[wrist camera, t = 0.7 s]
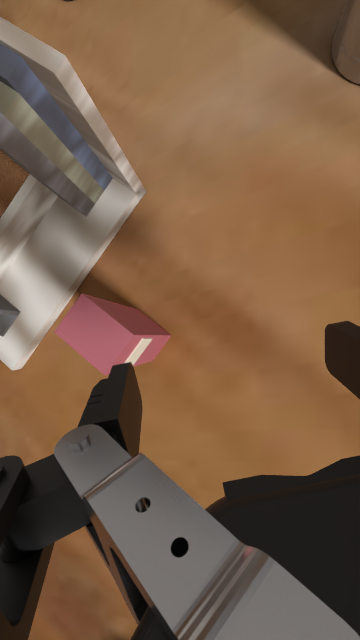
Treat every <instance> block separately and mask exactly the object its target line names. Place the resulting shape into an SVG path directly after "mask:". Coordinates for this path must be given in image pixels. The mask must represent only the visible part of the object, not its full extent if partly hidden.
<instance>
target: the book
mask: <svg viewBox="0 0 360 640" xmlns="http://www.w3.org/2000/svg"><path fill="white" fill-rule="evenodd" d="M55 333H56V334H57V335H58V336H59V337H60V338H62V339H63V340H64V341H65V342H66V343H67V344H69V345H70V346H71V347H72V348H73V349H75V350H76V351H77V352H78V353H79V354H80V355H82V356H83V357H84V358H85V359H86V360H87V361H89V362H90V363H91V364H92V365H93V366H94V367H96V368H97V369H98V370H99V371H100V372H101V373H103V374H104V375H108V374H110V371H111V368H112V366H113V365H117V364H123V363H128V362H131V363H132V365H133V367H134V366H137V365H140V364H143V363H147V362H150V361H153V360H154V359H155V357H156V356H157V354H158V353H159V352H160V350H161V349H162V348H163V346H164V345H165V344H166V342H167V341H168V340H169V338H170V337H171V336H172V335H170V334H169V333H168V332H166V331H165V330H164V329H163V328H161V327H160V326H159V325H157V324H156V323H155V322H153V321H152V320H151V319H150V318H148V317H147V316H146V315H144V314H143V313H142V312H141V311H139V310H138V309H136V308H132V307H129V306H125V305H122V304H118V303H115V302H111V301H108V300H104V299H101V298H97V297H94V296H90V295H87V294H83V293H81V295H80V296H79V297H78V299H77V300H76V302H75V303H74V305H73V306H72V307H71V309H70V310H69V312H68V313H67V315H66V316H65V317H64V319H63V320H62V322H61V323H60V324H59V326H58V327H57V329H56V330H55Z"/></svg>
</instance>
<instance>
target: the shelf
mask: <svg viewBox="0 0 360 640" xmlns="http://www.w3.org/2000/svg"><path fill="white" fill-rule="evenodd" d="M0 150H1V151H2V152H4V153H5V154H6V155H7V156H9V157H10V158H11V159H12V160H14V161H15V162H16V163H17V164H18V165H20V166H21V167H22V168H23V169H25V170H26V171H27V172H28V173H30V175H29V176H28V178H27V179H26V181H25V182H24V184H23V185H22V187H21V188H20V190H19V191H18V193H17V194H16V196H15V197H14V199H13V200H12V202H11V203H10V205H9V206H8V208H7V209H6V211H5V212H4V214H3V215H2V217H1V218H0V360H1V361H2V362H3V363H5V364H6V365H7V366H8V367H9V368H10V369H11V370H18V369H22V367H23V366H24V365H25V363H26V362H27V360H28V359H29V357H30V356H31V355H32V353H33V352H34V350H35V349H36V348H37V346H38V345H39V343H40V342H41V340H42V339H43V338H44V336H45V335H46V333H47V332H48V330H49V329H50V328H51V326H52V325H53V323H54V322H55V320H56V319H57V318H58V316H59V315H60V313H61V312H62V311H63V309H64V308H65V306H66V305H67V303H68V302H69V301H70V299H71V298H72V296H73V295H74V293H75V292H76V291H77V289H78V288H79V286H80V285H81V283H82V282H83V281H84V279H85V278H86V276H87V275H88V274H89V272H90V271H91V269H92V268H93V266H94V265H95V264H96V262H97V261H98V259H99V258H100V256H101V255H102V254H103V252H104V251H105V249H106V248H107V246H108V245H109V244H110V242H111V241H112V239H113V238H114V237H115V235H116V234H117V232H118V231H119V229H120V228H121V227H122V225H123V224H124V222H125V221H126V219H127V218H128V217H129V215H130V214H131V212H132V211H133V210H134V208H135V207H136V205H137V204H138V202H139V201H140V200H141V198H142V197H143V195H144V194H145V192H146V190H145V189H144V187H143V185H142V184H141V182H140V180H139V178H138V177H137V175H136V173H135V172H134V170H133V168H132V167H131V165H130V163H129V162H128V160H127V158H126V157H125V155H124V153H123V152H122V150H121V148H120V147H119V145H118V143H117V142H116V140H115V138H114V136H113V135H112V133H111V131H110V130H109V128H108V126H107V125H106V123H105V121H104V120H103V118H102V116H101V115H100V113H99V111H98V110H97V108H96V106H95V105H94V103H93V101H92V99H91V98H90V96H89V94H88V93H87V91H86V89H85V88H84V86H83V84H82V83H81V81H80V79H79V78H78V76H77V74H76V73H75V71H74V69H73V68H72V66H71V64H70V63H69V61H68V59H67V57H66V56H65V55H63V54H62V53H60V52H58V51H57V50H55V49H53V48H52V47H50V46H48V45H47V44H45V43H43V42H42V41H40V40H38V39H37V38H35V37H33V36H31V35H30V34H28V33H26V32H25V31H23V30H21V29H20V28H18V27H16V26H15V25H13V24H11V23H10V22H8V21H6V20H5V19H3V18H1V17H0Z"/></svg>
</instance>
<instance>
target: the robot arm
mask: <svg viewBox="0 0 360 640" xmlns="http://www.w3.org/2000/svg"><path fill="white" fill-rule="evenodd" d="M332 58H333V61H334V64H335V66H336V68H337V69H338V71H339V72H340V73H341V74H342V75H343V76H344V77H345V78H347V79H348V80H350V81H352V82H354V83H357V84H360V0H346V2H345V5H344V8H343V11H342V14H341V17H340V20H339V23H338V26H337V29H336V32H335V35H334V38H333V43H332ZM325 363H326V366H327V369H328V371H329V372H330V373H331V375H333V376H334V377H335V378H336V379H337V380H338V381H339V382H341V383H342V384H343V385H344V386H345V387H346V388H348V389H349V390H350V391H351V392H352V393H353V394H354V395H356V396H357V397H358V398H359V399H360V327H359V326H357V325H355V324H353V323H351V322H349V321H344V322H339V323H333V324H328V325H327V326H326V328H325ZM141 419H142V400H141V394H140V391H139V387H138V383H137V379H136V375H135V371H134V368H133V365H132V363H131V362H128V363H123V364H117V365H113V366H112V368H111V371H110V374H109V377H108V379H103V380H101V381H100V382H99V383H98V384H97V385H96V386H95V387H94V388H93V390H92V392H91V395H90V398H89V400H88V402H87V405H86V407H85V410H84V412H83V415H82V417H81V420H80V422H79V425H78V427H77V428H75V429H73V430H71V431H70V432H68V433H67V434H65V435H64V436H63V437H62V438H61V439H60V440H59V441H58V443H57V444H56V446H55V449H54V454H52V455H50V456H48V457H46V458H44V459H41V460H39V461H37V462H34V463H32V464H30V465H27V466H24V464H23V462H22V460H21V458H20V457H18V456H5V457H2V458H0V640H28V637H29V633H30V630H31V626H32V622H33V619H34V615H35V611H36V608H37V604H38V601H39V597H40V593H41V590H42V586H43V582H44V579H45V575H46V571H47V568H48V564H49V560H50V557H51V553H52V550H53V546H54V542H55V541H57V540H59V539H61V538H63V537H65V536H67V535H69V534H70V533H72V532H74V531H76V530H78V529H80V528H82V527H85V529H86V531H87V532H88V534H89V536H90V538H91V539H92V541H93V543H94V545H95V546H96V548H97V550H98V552H99V553H100V555H101V557H102V559H103V560H104V562H105V564H106V566H107V567H108V569H109V571H110V573H111V574H112V576H113V578H114V580H115V582H116V584H117V586H118V588H119V590H120V592H121V594H122V596H123V598H124V600H125V602H126V604H127V606H128V608H129V610H130V612H131V614H132V615H133V617H134V619H135V621H136V623H137V624H138V627H137V628H136V630H135V632H134V634H133V636H132V638H131V640H360V456H355V457H350V458H345V459H341V460H339V461H337V462H335V463H333V464H331V465H329V466H327V467H325V468H323V469H321V470H319V471H317V472H315V473H313V474H311V475H308V476H281V475H259V476H254V477H248V478H243V479H238V480H233V481H228V482H223V487H224V493H225V497H223V498H221V499H219V500H217V501H216V502H214V503H213V504H211V505H210V506H209V507H208V508H207V509H204V508H202V507H201V506H200V505H199V504H198V503H197V502H196V501H195V500H194V499H193V498H191V497H190V496H189V495H188V494H187V493H186V492H185V491H184V490H183V489H181V488H180V487H179V486H178V485H177V484H176V483H175V482H174V481H173V480H171V479H170V478H169V477H168V476H167V475H166V474H165V473H164V472H163V471H162V470H160V469H159V468H158V467H157V466H156V465H155V464H154V463H153V462H152V461H150V460H149V459H148V458H147V457H146V456H145V455H143V454H142V453H139V442H140V431H141Z"/></svg>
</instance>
